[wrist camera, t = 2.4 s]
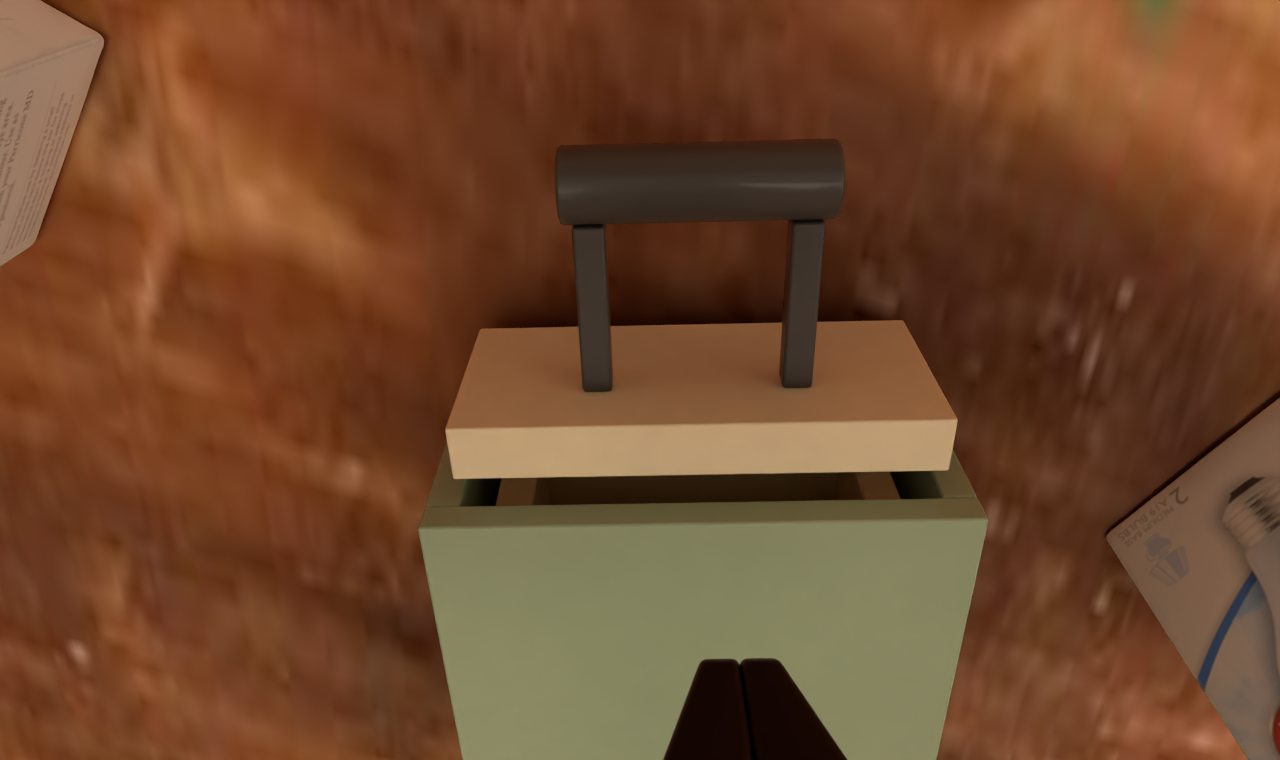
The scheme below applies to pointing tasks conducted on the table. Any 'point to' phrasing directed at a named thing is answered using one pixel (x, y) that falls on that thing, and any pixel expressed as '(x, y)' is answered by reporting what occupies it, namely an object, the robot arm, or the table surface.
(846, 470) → the drawer
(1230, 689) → the light bulb box
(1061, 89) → the table surface
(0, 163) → the small box
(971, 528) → the cabinet
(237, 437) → the table surface
